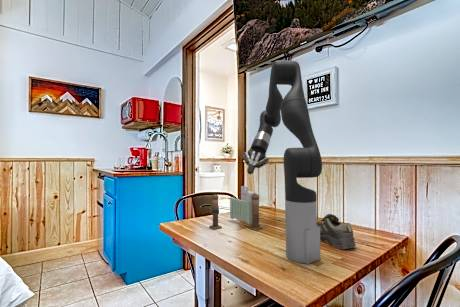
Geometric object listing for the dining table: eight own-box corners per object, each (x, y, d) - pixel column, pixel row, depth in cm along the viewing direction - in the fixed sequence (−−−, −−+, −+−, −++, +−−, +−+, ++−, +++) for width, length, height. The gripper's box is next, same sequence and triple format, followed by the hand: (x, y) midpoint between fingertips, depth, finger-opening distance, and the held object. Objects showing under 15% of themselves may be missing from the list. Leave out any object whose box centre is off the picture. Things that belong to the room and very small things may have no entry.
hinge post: (262, 228, 108) (261, 193, 108) (255, 230, 105) (254, 194, 106) (256, 226, 111) (255, 192, 111) (249, 228, 109) (248, 193, 109)
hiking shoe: (323, 226, 104) (312, 202, 101) (367, 248, 84) (355, 219, 81) (306, 239, 101) (295, 215, 98) (347, 265, 82) (335, 236, 79)
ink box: (256, 214, 136) (256, 186, 137) (248, 215, 134) (248, 187, 135) (248, 211, 144) (248, 185, 144) (241, 212, 142) (240, 185, 142)
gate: (252, 223, 111) (252, 201, 112) (249, 224, 110) (249, 201, 111) (232, 217, 124) (232, 197, 124) (230, 218, 123) (230, 197, 123)
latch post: (221, 228, 109) (221, 194, 109) (213, 229, 107) (213, 195, 107) (216, 226, 112) (216, 193, 113) (209, 227, 110) (208, 194, 110)
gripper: (247, 134, 118) (235, 164, 109) (275, 142, 115) (264, 173, 106) (247, 144, 125) (235, 173, 116) (273, 151, 122) (263, 181, 113)
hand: (249, 173), depth 111 cm, fingers closed
